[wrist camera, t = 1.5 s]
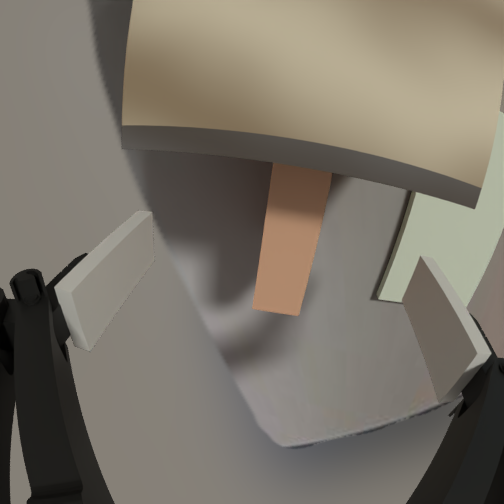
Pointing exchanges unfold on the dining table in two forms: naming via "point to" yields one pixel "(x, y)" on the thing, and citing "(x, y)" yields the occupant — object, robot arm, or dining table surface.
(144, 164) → the dining table surface
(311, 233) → the tan rectangular slab
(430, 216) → the mat
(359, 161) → the brown boxy piece
